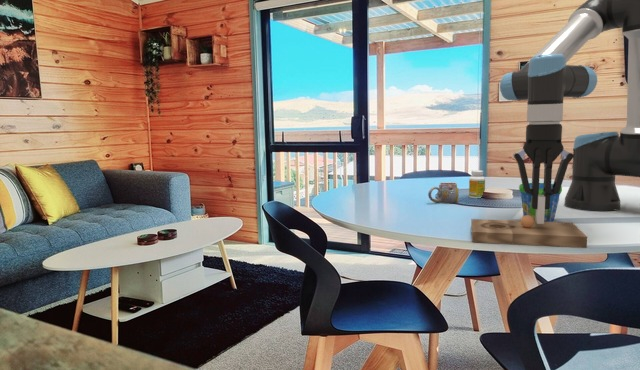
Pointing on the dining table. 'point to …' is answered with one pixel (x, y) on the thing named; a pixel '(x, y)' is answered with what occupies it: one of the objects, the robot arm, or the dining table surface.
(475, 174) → the supplement bottle
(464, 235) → the dining table surface
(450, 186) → the mug
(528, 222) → the ball
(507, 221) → the wooden board
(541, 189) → the snack cup
